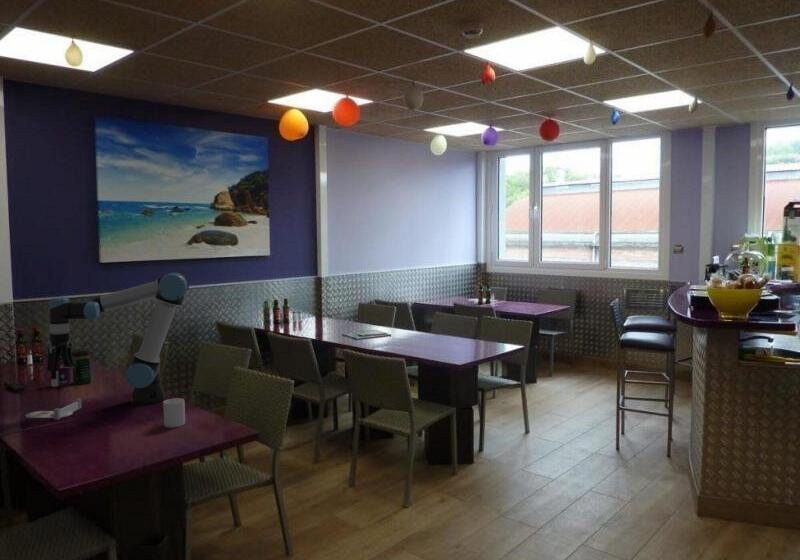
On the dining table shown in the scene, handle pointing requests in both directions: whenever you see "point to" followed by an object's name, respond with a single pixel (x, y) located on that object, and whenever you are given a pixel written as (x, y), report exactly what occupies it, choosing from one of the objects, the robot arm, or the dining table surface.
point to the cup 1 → (64, 376)
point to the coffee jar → (81, 366)
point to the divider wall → (67, 409)
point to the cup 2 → (174, 412)
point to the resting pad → (44, 414)
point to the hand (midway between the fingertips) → (61, 383)
